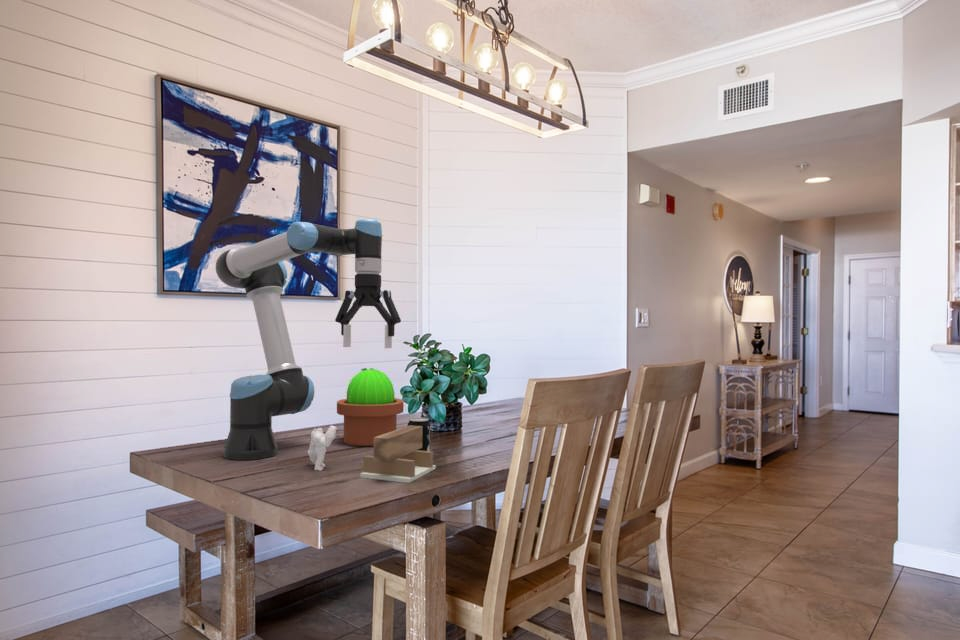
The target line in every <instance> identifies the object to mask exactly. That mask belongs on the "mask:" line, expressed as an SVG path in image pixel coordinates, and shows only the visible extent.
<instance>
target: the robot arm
mask: <svg viewBox="0 0 960 640" xmlns="http://www.w3.org/2000/svg"><path fill="white" fill-rule="evenodd" d="M382 227H383V226H382V222H380V221H379V220H377V219H372V218H361V219H358V220H356V221H355V226H354V228H339V227H338V228H337V227H333V226H332V227H331V226H326V225H320V224H316V223H311V222H306V221H294V222H292V223H291V224H290V226H288V228H287V231H285V232H281V233H280V234H277V235H275V236H274V235H273V236H272V237H269V238H265V239H263V240H261V241H258V242H256V243H254V244H251V245H248V246H246V247H245V246H244V247H239V246H238V247H233V248H230V249H227V250H226V251H224V252H222V253H221V254H220V255H219V256H218V258H217V260H216V262H215V272H216V274H217V277H218V278H219V281H221V282H222V283H223V284H224V285H226V286H228V287H231V288H238V289H244V290H245V294H246V298H247V299H249V301H250V300H251V301H252V304H253V308H254V312H255V316H256V321H257V326H258V329H259V335H260V340H261V344H262V348H263V353H264V358H265V361H266V366H267V371H266V374H255V375H252V374H251V375H245V376H242V377H239V378H236V379H234V380H233V382H231V384H230V392H229V398H230V411H229V432H228V435H227V438H226V441H225V446H224V447H223V455H222V456H223V458H224V459H227V460H236V461H250V460H252V461H253V460H260V459H267V458H270V457H274V456H276V455H277V454H278V444H277V442H276V438H275V435H274V432H273V429H272V424H273V423H272V422H273V421H272V420H273V417H277V416H278V417H279V416H284V415H295V414H297V413H301V412H302V413H303V412H305V411H307V409H309V407H310V406H311V405H312V403H313V400H314V398H315V385H314V382H313V380H312V379H311V378H310V377H309V376H307V375H304V372H303V368H302V367H301V366H299V365H298V364H297V363H296V360H295V356H294V352H293V347H292V343H291V338H290V335H289V329H288V326H287V321H286V317H285V313H284V312H285V311H284V309H283V303H282V299H281V295H282V293H283V292H284V287H285V286H286V284H287V279H288V270H287V268H286V265H285V263H284V261H286V260H290V259H293V258H295V257H298V256H301V255H305V254H308V253H310V252H317V253H324V254H325V253H326V254H327V255H328V256H329V255H330V256H338V257H342V256H346V255H347V256H348V255H354V272H355V273H356V274H355V275H354V287H355V290H354V291H353V290H345V292H344V299H343V301H342V302H341V306H340V307H339V310H338V312H337V315H336V317H335V319H334V321H335V322H336V323H339V324H340V326H341V327H340V329H341V330H340V334H341V336H342V338H343V339H342V340H343V342H342V344H343V346H342V347H343V348H351V343H352V324H350V322H351V320H352V319H353V318H355V315H356V314H357V313H358V311H360V309H361V308H362V307H374V308H375V309H376V311H378V313H379V314H380V316H381V317H382V318H383V320H384V321H385V323H387V324H385V325H384V349H393V348H392V347H393V343H392V341H393V340H392V339H393V337H394V336H395V325H396V324H399V323H401V322H402V320H401V317H400V315H399V312H398V310H397V308H396V305H395V303H394V301H393V299H392V292H391V290H388V289H384V290H383V291H382V290H381V287H382V276H381V273H382V244H383V243H382V241H383V233H382V232H383V230H382ZM381 298H382V299H383V300H384V303H385V305H386V308H387V309H386V308H385V306H384V304H383V302H382V301H381ZM353 299H355V300H354V301H353ZM352 302H353V303H352ZM351 304H352V305H351Z"/></svg>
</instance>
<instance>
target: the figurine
mask: <svg viewBox="0 0 960 640" xmlns="http://www.w3.org/2000/svg"><path fill="white" fill-rule="evenodd" d="M337 428H338V427H337V426H334V425H329V427H328V429H327V431H325V433H324V432H323V428H322V427H318V428H314V429H313V430H311V433H310V440H311V441H310V442H309V449H308V450H307V455H308V456H309V461H311V462H312V464H314V471H317V470H318V471H320V472H321V471H324V467H326V464H325V463H324V461H325V454H326V452H327V447H330V446H331V444H332V441H333V440H335V438H336V436H337V434H336V432H337V430H338V429H337Z"/></svg>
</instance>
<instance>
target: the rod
mask: <svg viewBox="0 0 960 640" xmlns="http://www.w3.org/2000/svg"><path fill="white" fill-rule="evenodd" d="M422 434H423V426H412V425H409V426H405V427H401V428H398V429H397V428H396V430H395V431H392V432H389V433H386V434H383V435H380V436H377V437H374V446H373V454H372V456H373V461H375V462H384V463H388V462H390V461H393V460H395V459H397V458H400V457H402V456H404V455H407V454H409V453H411V452H413V451H416V450H418V449H420V448H422Z"/></svg>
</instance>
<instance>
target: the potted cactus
mask: <svg viewBox="0 0 960 640" xmlns="http://www.w3.org/2000/svg"><path fill="white" fill-rule="evenodd" d="M349 381H350V382H349V383H348V385H347V388H346V391H345V392H344V393H345V394H346V395H344V396H345V397H346V398H341V399H339V400H337V401H336V413H337V414H338V415H339V416H343V442H344V444H347V445H348V446H349V445H350V446H355V447H358V446H359V447H374V437H377V436H380V435H383V434H386V433H389V432H392V431H395V430H397V415H400V414H403V413H404V405H405V404H404V402H405V401H404V400H403V399H401V398H398V397H395V385H394V383H393V381H392V380H391V379H390V377H388V374H386V373H385V372H383V371H381V370H379V369H376V368H373V367H372V368H366V367H364V368H361V369H360V371H359V372H357V373H356V374H355V375H354V376H352V378H351V379H350V380H349Z"/></svg>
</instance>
